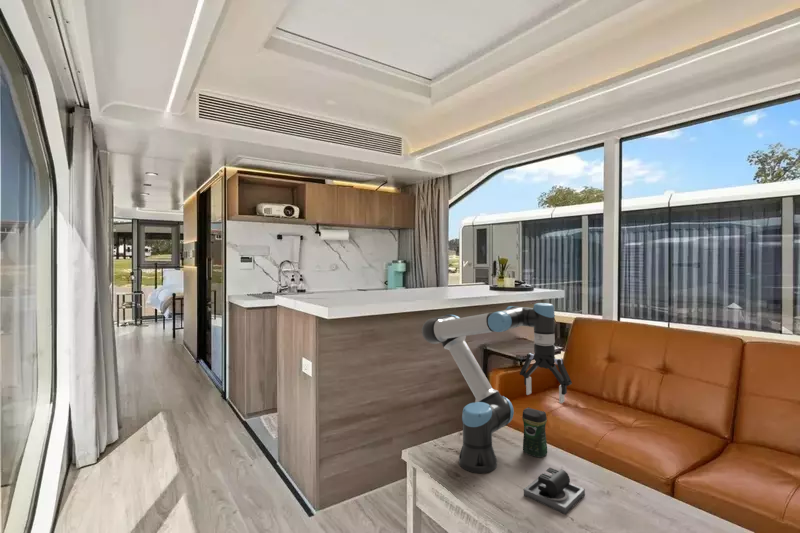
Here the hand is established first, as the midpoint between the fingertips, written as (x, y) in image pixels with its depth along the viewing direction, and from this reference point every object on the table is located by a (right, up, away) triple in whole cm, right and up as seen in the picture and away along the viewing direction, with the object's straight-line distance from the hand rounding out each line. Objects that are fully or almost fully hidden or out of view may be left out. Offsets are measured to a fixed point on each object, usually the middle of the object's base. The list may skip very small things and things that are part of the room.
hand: (544, 398), depth 161 cm
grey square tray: (-2, -29, -15) cm, 33 cm away
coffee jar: (+1, -28, +15) cm, 32 cm away
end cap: (-2, -29, -15) cm, 32 cm away
